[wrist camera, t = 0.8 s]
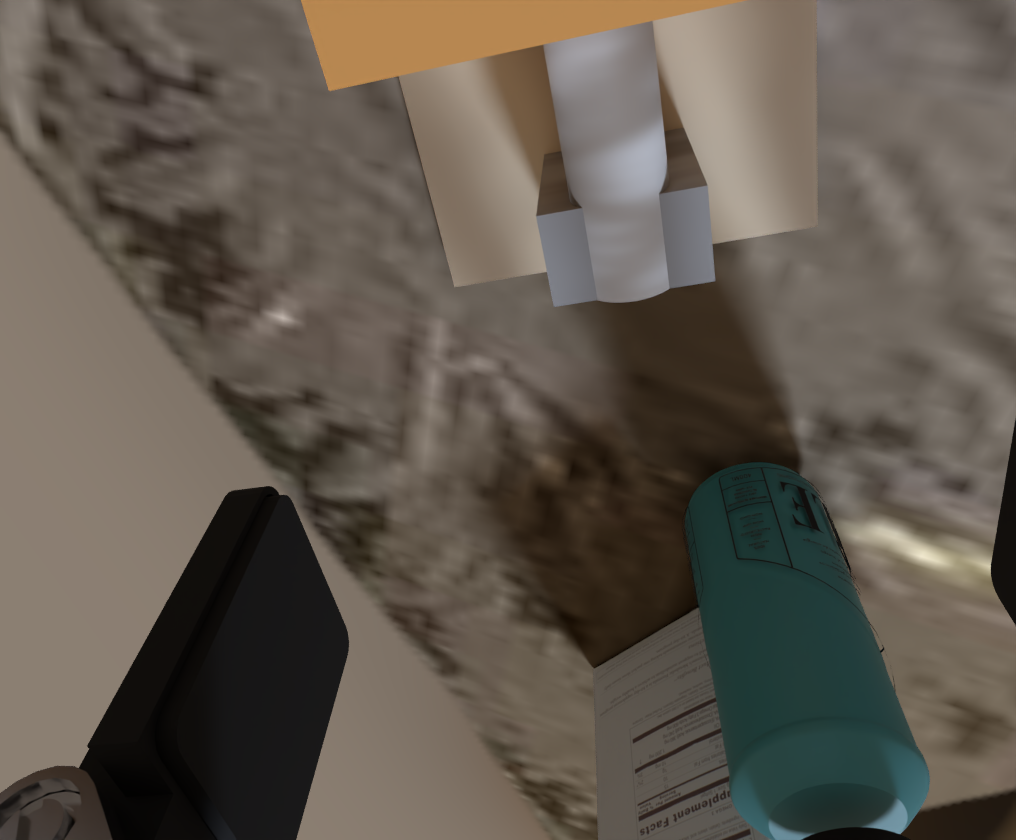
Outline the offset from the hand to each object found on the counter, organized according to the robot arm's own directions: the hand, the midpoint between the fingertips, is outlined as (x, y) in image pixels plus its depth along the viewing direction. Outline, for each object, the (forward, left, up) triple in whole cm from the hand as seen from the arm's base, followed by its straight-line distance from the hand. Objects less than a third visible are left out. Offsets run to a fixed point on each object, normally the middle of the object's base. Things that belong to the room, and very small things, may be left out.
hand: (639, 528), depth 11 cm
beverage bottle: (-4, +19, -23) cm, 30 cm away
